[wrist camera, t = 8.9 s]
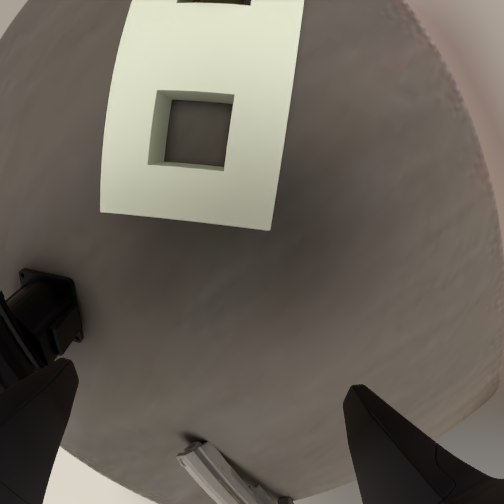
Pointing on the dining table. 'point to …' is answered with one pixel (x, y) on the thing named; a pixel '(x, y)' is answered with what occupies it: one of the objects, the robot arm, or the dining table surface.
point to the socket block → (208, 90)
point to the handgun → (221, 477)
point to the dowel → (223, 1)
